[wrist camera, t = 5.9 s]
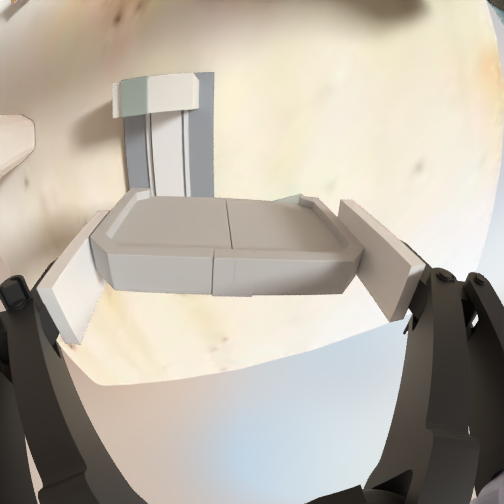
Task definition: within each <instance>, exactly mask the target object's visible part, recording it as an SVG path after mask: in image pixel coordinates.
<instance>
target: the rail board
mask: <svg viewBox="0 0 504 504" xmlns="http://www.w3.org/2000/svg"><path fill="white" fill-rule="evenodd" d="M175 74H181V73H175ZM165 75H171V74H165ZM194 75H195V76H196V77H197V78H198V80H199V108H197V109H190V110H175V111H164V112H154V113H148V114H142V115H135V116H128V117H124V133H125V147H126V159H127V169H128V178H129V186H130V188H150V190H151V196H179V197H209V198H214V166H213V109H214V72H203V73H194ZM157 76H162V75H157ZM151 77H153V76H151Z"/></svg>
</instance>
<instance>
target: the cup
mask: <svg viewBox="0 0 504 504" xmlns="http://www.w3.org/2000/svg"><path fill="white" fill-rule="evenodd" d="M34 146H35V134H34V124H33V122H32V121H31V120H29V119H28V118H26V117H24V116H23V115H1V116H0V178H1V177H2V176H4V175H5V174H6V173H8V172H9V171H10V170H12V169H13V168H14V167H16V166H17V165H18V164H20V163H21V162H23V161H24V160H25V158H26V157H27V156H28V155H29V154H30V153H31V152H32V151H33V149H34Z"/></svg>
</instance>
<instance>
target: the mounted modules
mask: <svg viewBox="0 0 504 504" xmlns="http://www.w3.org/2000/svg"><path fill="white" fill-rule="evenodd" d="M112 106H113V118H118V117H128V116H135V115H142V114H148V113H154V112H164V111H175V110H190V109H197V108H199V80H198V78H197V77H196V76H195V75H194V73H183V74H171V75H162V76H153V77H147V76H145V77H138V78H132V79H126V80H121V82H116V83H112Z"/></svg>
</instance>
